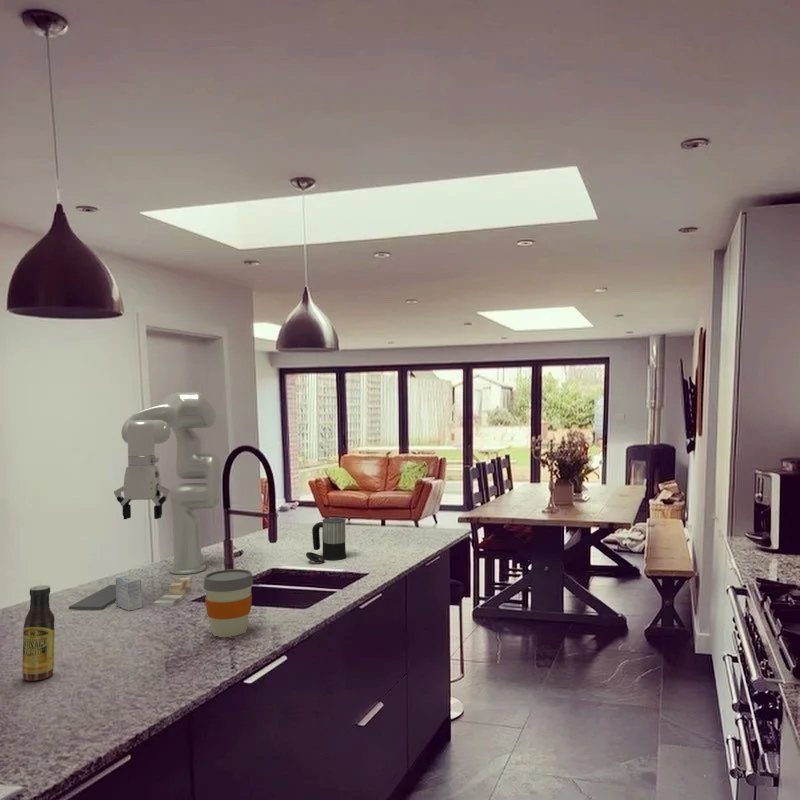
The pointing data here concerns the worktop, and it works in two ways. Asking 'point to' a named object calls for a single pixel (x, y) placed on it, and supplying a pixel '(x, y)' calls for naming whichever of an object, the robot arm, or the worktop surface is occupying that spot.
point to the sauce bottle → (38, 636)
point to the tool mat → (97, 599)
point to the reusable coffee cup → (228, 601)
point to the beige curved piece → (175, 592)
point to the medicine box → (128, 592)
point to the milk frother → (329, 540)
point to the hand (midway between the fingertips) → (142, 518)
